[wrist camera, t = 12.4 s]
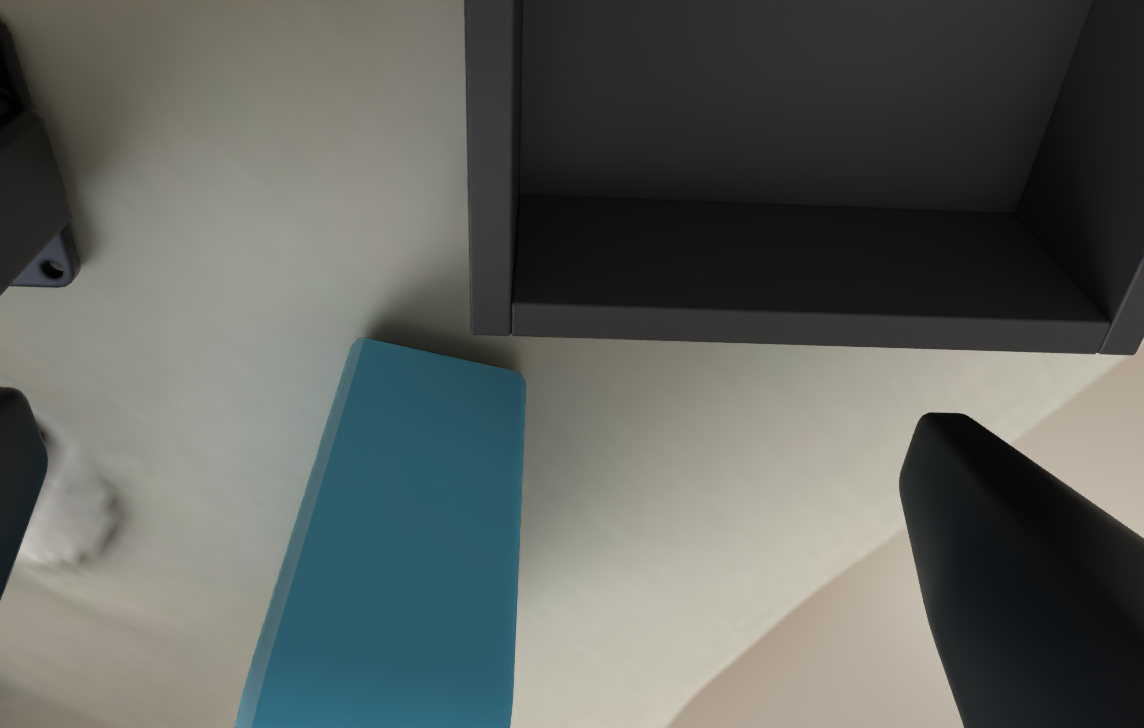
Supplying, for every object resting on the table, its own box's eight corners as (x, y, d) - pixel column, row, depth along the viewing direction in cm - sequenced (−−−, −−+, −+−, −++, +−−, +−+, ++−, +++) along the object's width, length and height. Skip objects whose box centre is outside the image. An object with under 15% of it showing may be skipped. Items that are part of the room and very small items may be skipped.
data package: (441, 626, 31) (390, 1044, 22) (307, 604, 31) (192, 1026, 21) (530, 348, 25) (513, 773, 15) (360, 310, 24) (227, 732, 14)
